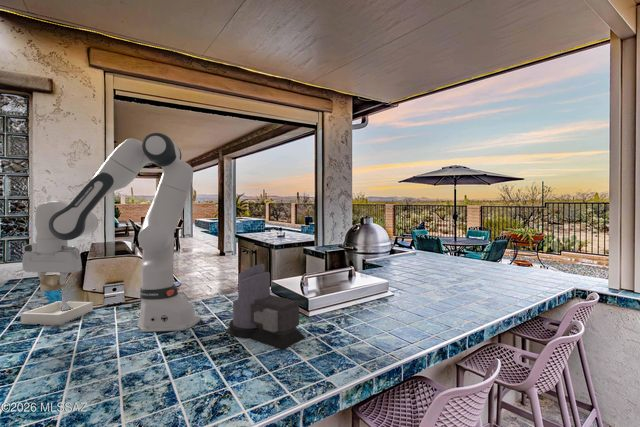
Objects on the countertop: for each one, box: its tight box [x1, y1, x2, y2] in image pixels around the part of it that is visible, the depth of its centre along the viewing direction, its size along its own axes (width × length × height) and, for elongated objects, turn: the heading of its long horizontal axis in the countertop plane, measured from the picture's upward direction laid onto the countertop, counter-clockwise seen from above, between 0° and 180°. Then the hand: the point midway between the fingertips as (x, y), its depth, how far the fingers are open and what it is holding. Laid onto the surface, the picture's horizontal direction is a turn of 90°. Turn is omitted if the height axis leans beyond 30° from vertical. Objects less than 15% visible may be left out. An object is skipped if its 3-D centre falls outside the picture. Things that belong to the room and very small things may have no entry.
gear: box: [43, 289, 62, 305], centre depth 148 cm, size 11×6×10 cm
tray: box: [20, 300, 94, 326], centre depth 131 cm, size 16×16×4 cm
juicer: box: [225, 263, 307, 351], centre depth 114 cm, size 30×16×24 cm, turn 54°
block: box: [39, 272, 67, 292], centre depth 116 cm, size 5×5×5 cm
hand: (53, 284), depth 116 cm, fingers closed on block, 5 cm apart
